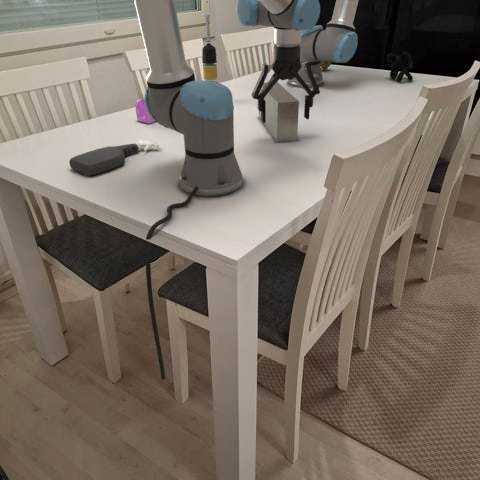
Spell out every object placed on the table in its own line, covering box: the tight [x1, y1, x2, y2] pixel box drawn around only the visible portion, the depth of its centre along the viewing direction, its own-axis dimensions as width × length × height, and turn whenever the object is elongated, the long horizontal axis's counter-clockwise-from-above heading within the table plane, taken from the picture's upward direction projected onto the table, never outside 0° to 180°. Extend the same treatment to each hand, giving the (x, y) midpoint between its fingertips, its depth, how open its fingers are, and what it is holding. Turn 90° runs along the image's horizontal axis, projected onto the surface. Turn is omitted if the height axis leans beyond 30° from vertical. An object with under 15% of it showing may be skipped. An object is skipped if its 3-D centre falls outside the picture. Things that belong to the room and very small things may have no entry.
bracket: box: [134, 98, 156, 124], centre depth 156 cm, size 13×6×7 cm, turn 143°
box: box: [258, 81, 300, 143], centre depth 143 cm, size 26×6×12 cm, turn 10°
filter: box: [201, 14, 219, 83], centre depth 171 cm, size 6×6×30 cm
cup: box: [320, 60, 333, 72], centre depth 218 cm, size 8×7×8 cm
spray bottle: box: [68, 139, 160, 177], centre depth 124 cm, size 3×11×24 cm
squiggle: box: [385, 51, 414, 83], centre depth 198 cm, size 11×10×15 cm
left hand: (285, 119), depth 136 cm, fingers open, 13 cm apart
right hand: (286, 24), depth 153 cm, fingers open, 13 cm apart
